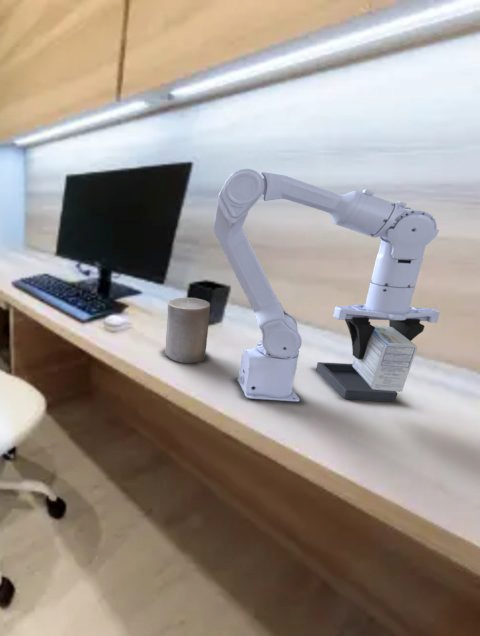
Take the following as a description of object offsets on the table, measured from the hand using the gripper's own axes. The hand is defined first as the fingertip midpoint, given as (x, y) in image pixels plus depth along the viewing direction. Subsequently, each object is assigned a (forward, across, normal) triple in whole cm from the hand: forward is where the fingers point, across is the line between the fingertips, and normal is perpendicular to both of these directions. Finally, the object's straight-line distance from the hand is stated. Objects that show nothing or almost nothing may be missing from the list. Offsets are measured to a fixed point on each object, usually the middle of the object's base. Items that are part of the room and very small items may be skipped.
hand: (373, 358), depth 68 cm
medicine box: (+3, 0, -2) cm, 4 cm away
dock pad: (+10, +2, +9) cm, 13 cm away
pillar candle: (+10, -30, +20) cm, 37 cm away
